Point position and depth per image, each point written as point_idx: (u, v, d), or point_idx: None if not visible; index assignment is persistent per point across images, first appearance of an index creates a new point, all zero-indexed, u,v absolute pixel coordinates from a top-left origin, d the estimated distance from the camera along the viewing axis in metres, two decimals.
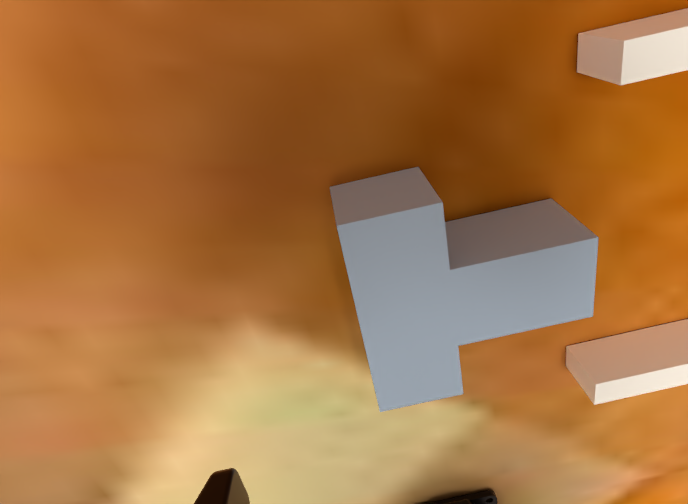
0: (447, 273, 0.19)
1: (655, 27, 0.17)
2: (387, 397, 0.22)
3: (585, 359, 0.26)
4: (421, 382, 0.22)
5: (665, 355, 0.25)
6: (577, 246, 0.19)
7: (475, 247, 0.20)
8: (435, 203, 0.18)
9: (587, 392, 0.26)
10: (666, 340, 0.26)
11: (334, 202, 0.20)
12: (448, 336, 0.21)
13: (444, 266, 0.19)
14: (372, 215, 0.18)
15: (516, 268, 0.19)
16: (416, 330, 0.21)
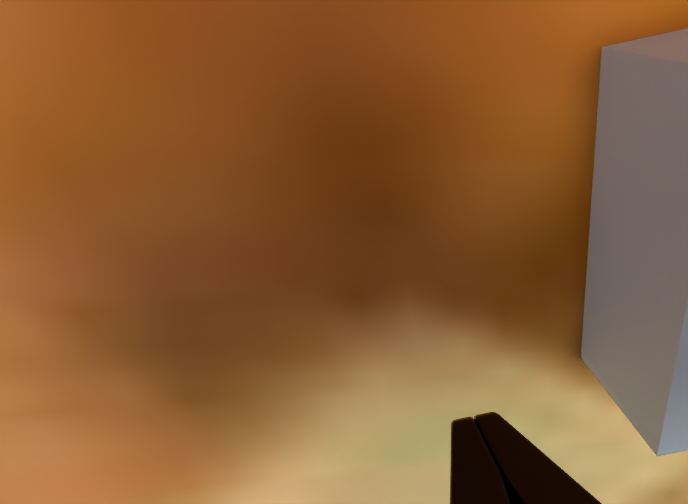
0: None
1: None
2: (679, 431, 0.13)
3: None
4: None
5: None
6: None
7: None
8: None
9: None
10: None
11: (654, 54, 0.10)
12: None
13: None
14: None
15: None
16: None
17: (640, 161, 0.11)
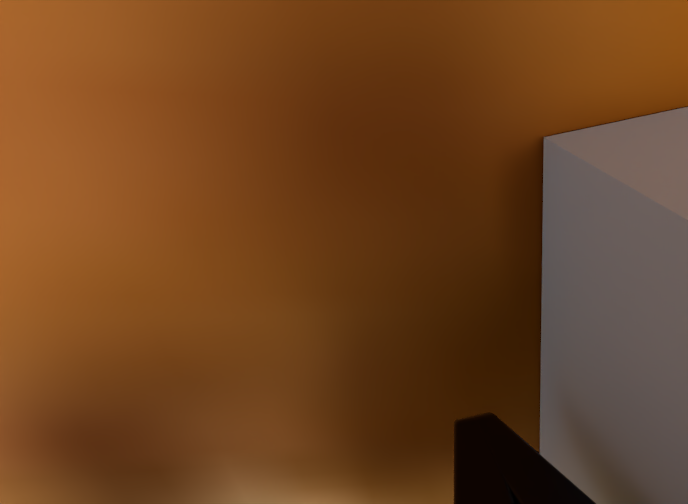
0: None
1: None
2: None
3: None
4: None
5: None
6: None
7: None
8: None
9: None
10: None
11: (619, 174, 0.06)
12: None
13: None
14: None
15: None
16: None
17: (603, 327, 0.07)
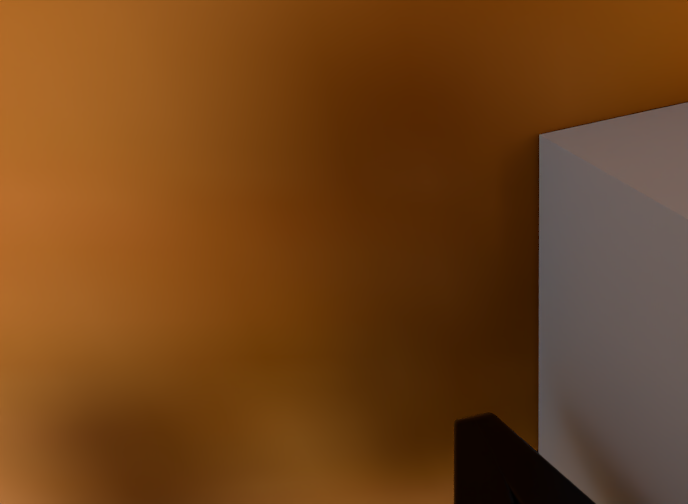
0: None
1: None
2: None
3: None
4: None
5: None
6: None
7: None
8: None
9: None
10: None
11: (614, 171, 0.06)
12: None
13: None
14: None
15: None
16: None
17: (598, 323, 0.07)
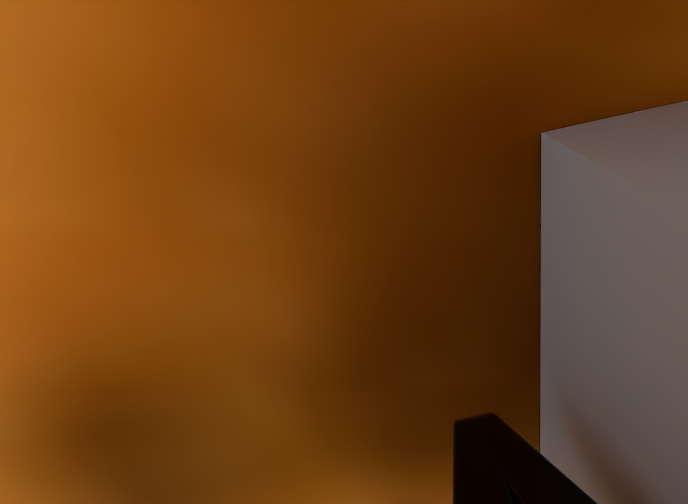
0: None
1: None
2: None
3: None
4: None
5: None
6: None
7: None
8: None
9: None
10: None
11: (617, 168, 0.06)
12: None
13: None
14: None
15: None
16: None
17: (602, 321, 0.07)
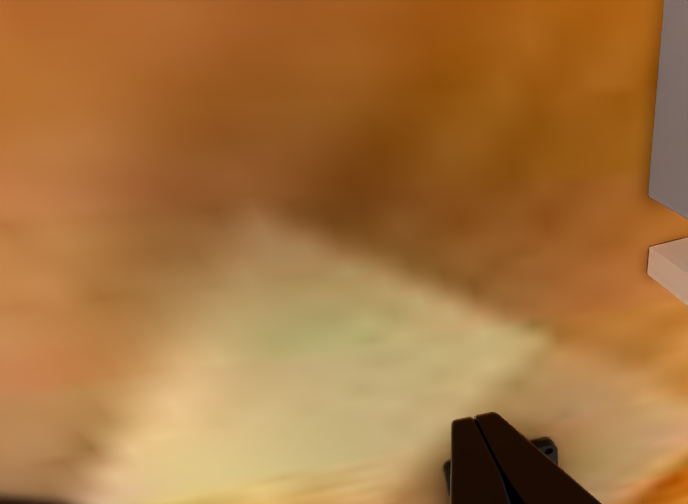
0: None
1: None
2: None
3: (677, 257, 0.21)
4: None
5: None
6: None
7: None
8: None
9: (682, 297, 0.21)
10: None
11: None
12: None
13: None
14: None
15: None
16: None
17: None
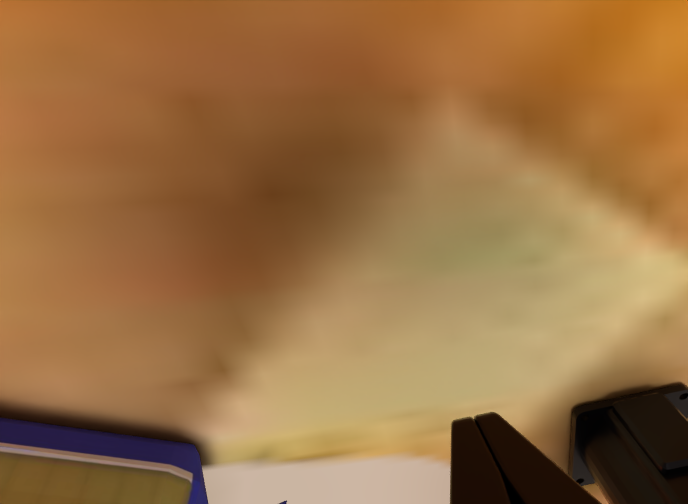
0: None
1: None
2: None
3: None
4: None
5: None
6: None
7: None
8: None
9: None
10: None
11: None
12: None
13: None
14: None
15: None
16: None
17: None
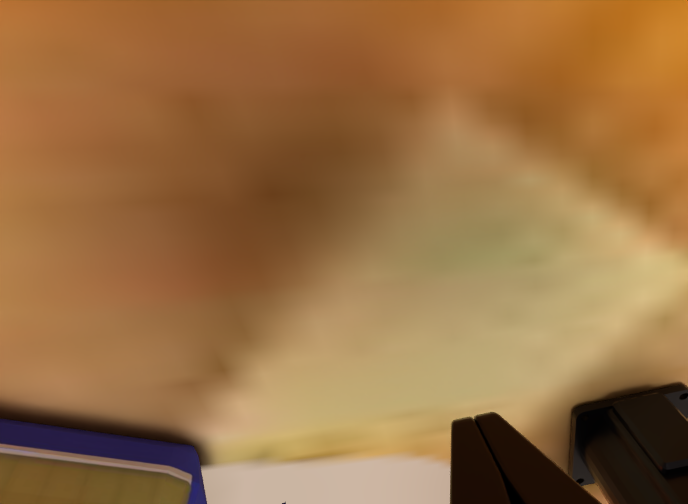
0: None
1: None
2: None
3: None
4: None
5: None
6: None
7: None
8: None
9: None
10: None
11: None
12: None
13: None
14: None
15: None
16: None
17: None
